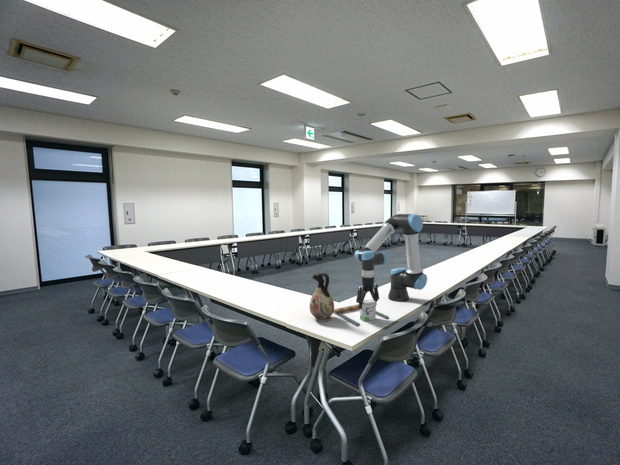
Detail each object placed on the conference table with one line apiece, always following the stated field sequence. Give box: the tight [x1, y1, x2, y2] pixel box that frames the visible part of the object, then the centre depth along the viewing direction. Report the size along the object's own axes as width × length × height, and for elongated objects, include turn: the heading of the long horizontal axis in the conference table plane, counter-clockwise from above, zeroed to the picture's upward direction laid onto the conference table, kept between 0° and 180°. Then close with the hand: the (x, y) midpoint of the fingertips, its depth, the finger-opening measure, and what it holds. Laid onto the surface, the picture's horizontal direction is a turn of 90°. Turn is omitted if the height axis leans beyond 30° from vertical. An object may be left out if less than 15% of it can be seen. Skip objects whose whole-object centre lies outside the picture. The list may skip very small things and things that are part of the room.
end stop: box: [333, 303, 360, 315], centre depth 200 cm, size 25×3×2 cm, turn 118°
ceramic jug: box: [309, 272, 335, 322], centre depth 184 cm, size 17×15×30 cm
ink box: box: [359, 298, 377, 322], centre depth 183 cm, size 9×5×12 cm, turn 114°
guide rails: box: [335, 310, 390, 327], centre depth 189 cm, size 25×22×1 cm
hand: (367, 312), depth 184 cm, fingers closed on ink box, 9 cm apart
